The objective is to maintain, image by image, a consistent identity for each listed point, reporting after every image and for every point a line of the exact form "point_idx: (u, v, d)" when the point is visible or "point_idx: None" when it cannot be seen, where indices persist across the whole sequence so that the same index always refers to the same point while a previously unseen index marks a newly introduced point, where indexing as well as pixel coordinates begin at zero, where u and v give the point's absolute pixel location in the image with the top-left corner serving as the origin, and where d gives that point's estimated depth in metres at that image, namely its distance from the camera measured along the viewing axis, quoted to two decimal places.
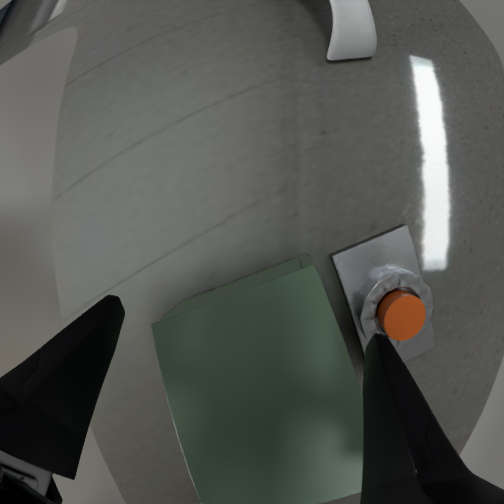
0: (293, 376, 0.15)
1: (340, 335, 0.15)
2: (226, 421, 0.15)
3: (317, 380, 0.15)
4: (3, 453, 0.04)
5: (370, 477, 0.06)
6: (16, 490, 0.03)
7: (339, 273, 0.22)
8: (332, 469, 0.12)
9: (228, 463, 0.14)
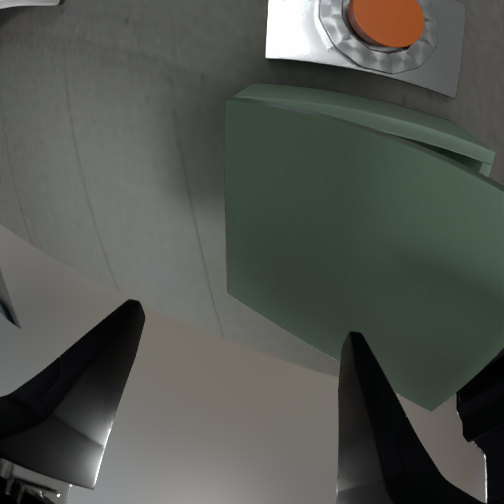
0: (343, 215, 0.10)
1: (324, 121, 0.09)
2: (349, 315, 0.12)
3: (367, 193, 0.09)
4: (23, 468, 0.04)
5: (344, 478, 0.06)
6: None
7: (291, 58, 0.14)
8: (497, 280, 0.07)
9: (394, 353, 0.12)
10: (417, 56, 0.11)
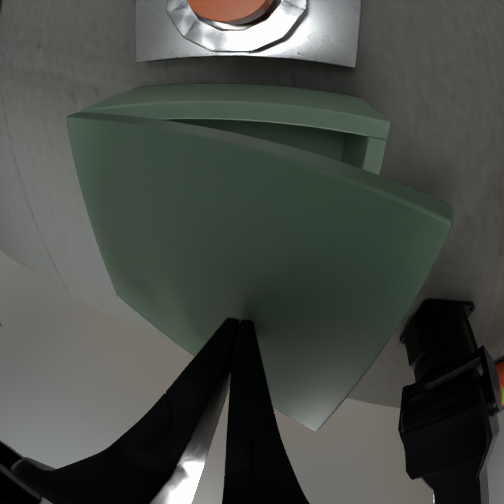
0: (145, 215, 0.10)
1: (111, 124, 0.08)
2: (190, 319, 0.12)
3: (151, 189, 0.09)
4: None
5: None
6: (16, 490, 0.03)
7: (158, 58, 0.13)
8: (313, 285, 0.07)
9: None
10: (280, 24, 0.10)
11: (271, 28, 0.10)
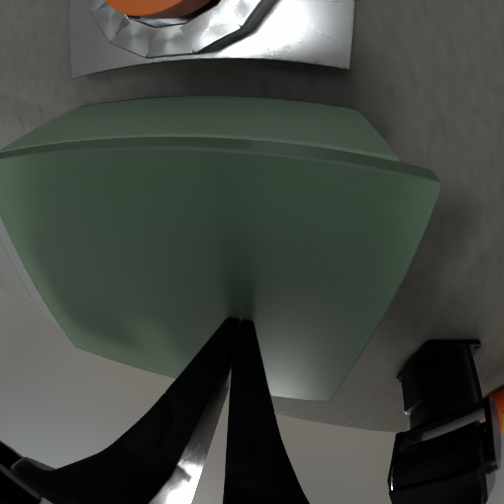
0: (111, 250, 0.08)
1: (52, 154, 0.06)
2: (178, 344, 0.11)
3: (119, 219, 0.07)
4: None
5: None
6: (16, 490, 0.03)
7: (94, 71, 0.09)
8: (326, 266, 0.07)
9: None
10: (235, 10, 0.06)
11: (222, 17, 0.07)
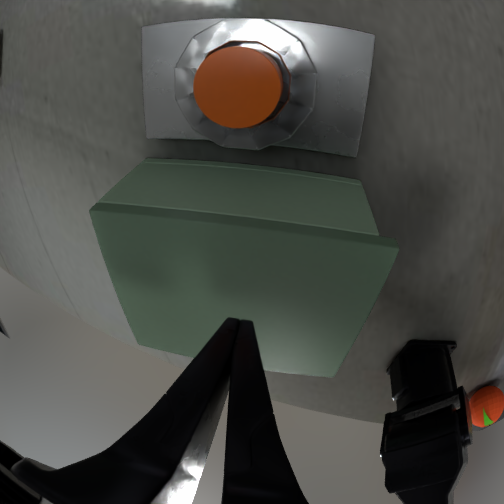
0: (204, 278, 0.14)
1: (171, 220, 0.12)
2: None
3: (216, 262, 0.13)
4: None
5: None
6: (16, 490, 0.03)
7: (168, 137, 0.15)
8: (335, 289, 0.13)
9: (281, 350, 0.17)
10: (287, 124, 0.12)
11: (278, 128, 0.12)
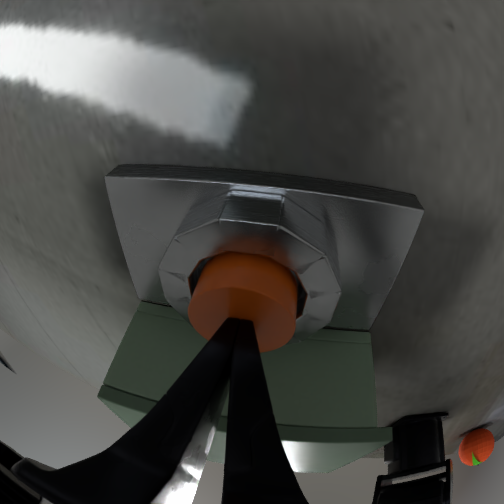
0: (216, 444, 0.13)
1: None
2: None
3: None
4: None
5: None
6: (16, 490, 0.03)
7: (163, 302, 0.14)
8: (332, 454, 0.12)
9: None
10: (298, 333, 0.11)
11: None
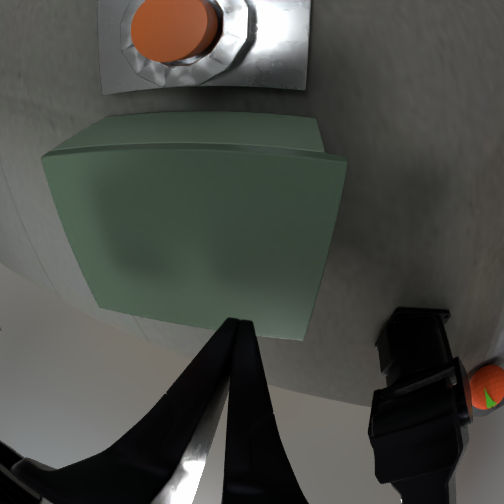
0: (144, 215, 0.13)
1: (107, 152, 0.11)
2: (186, 288, 0.16)
3: (152, 193, 0.12)
4: None
5: None
6: (16, 490, 0.03)
7: (121, 91, 0.14)
8: (281, 218, 0.12)
9: (237, 304, 0.16)
10: (223, 56, 0.11)
11: (215, 61, 0.11)
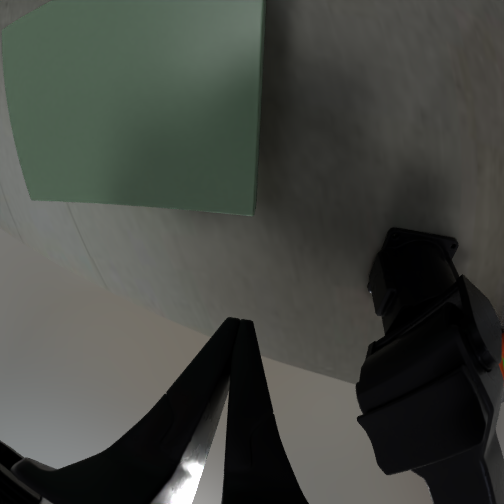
0: (71, 51, 0.09)
1: (52, 1, 0.07)
2: (105, 137, 0.11)
3: (81, 24, 0.08)
4: None
5: None
6: (16, 490, 0.03)
7: None
8: (200, 14, 0.08)
9: (160, 151, 0.12)
10: None
11: None
